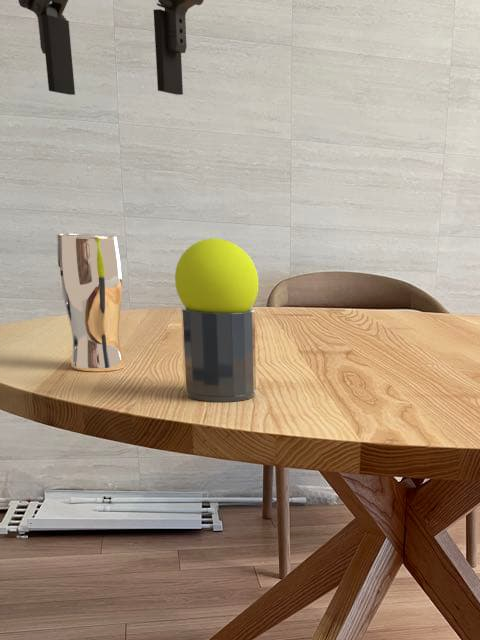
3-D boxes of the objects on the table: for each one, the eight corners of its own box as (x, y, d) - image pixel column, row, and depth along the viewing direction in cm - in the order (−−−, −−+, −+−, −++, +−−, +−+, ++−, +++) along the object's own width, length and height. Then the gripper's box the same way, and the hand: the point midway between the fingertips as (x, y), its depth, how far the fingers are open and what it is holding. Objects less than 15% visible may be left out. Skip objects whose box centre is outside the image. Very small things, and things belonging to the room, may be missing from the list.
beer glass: (103, 374, 96) (91, 237, 90) (54, 368, 98) (40, 233, 92) (140, 365, 102) (131, 236, 96) (94, 359, 104) (83, 233, 98)
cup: (171, 395, 88) (166, 308, 84) (213, 384, 94) (210, 302, 90) (228, 405, 85) (226, 315, 81) (268, 393, 91) (267, 309, 88)
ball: (160, 324, 84) (154, 236, 81) (210, 316, 92) (206, 236, 89) (228, 331, 81) (224, 240, 78) (275, 322, 89) (273, 239, 85)
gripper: (238, -179, 71) (243, 98, 79) (25, -148, 80) (49, 97, 88) (182, -219, 65) (194, 86, 73) (-43, -180, 74) (-10, 87, 82)
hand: (114, 93), depth 81 cm, fingers open, 13 cm apart
